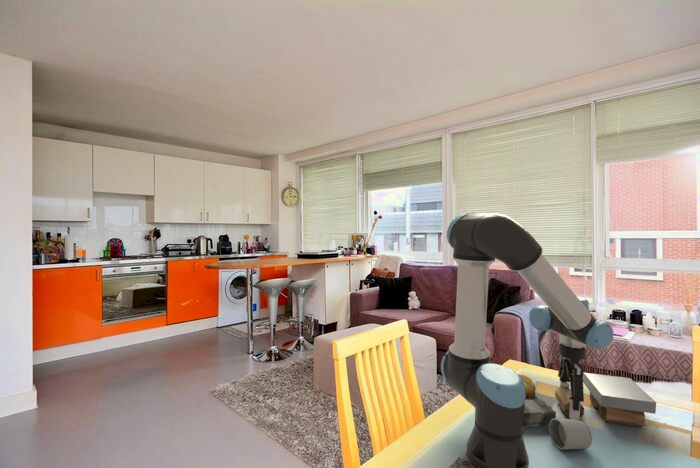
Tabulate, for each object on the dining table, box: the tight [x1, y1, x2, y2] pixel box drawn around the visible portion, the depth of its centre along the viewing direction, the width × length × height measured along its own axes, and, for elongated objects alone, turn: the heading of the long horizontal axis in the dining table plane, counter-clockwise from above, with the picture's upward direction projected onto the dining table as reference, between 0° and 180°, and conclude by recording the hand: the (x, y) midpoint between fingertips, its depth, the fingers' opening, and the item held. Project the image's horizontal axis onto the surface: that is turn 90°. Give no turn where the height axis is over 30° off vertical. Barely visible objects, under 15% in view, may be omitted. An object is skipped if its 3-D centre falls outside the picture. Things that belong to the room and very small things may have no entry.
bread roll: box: [518, 374, 536, 400], centre depth 127 cm, size 13×10×8 cm
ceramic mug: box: [548, 417, 593, 451], centre depth 101 cm, size 11×8×8 cm
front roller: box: [598, 404, 646, 427], centre depth 112 cm, size 6×10×6 cm, turn 74°
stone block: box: [523, 398, 557, 429], centre depth 113 cm, size 9×14×5 cm, turn 92°
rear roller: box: [589, 391, 599, 409], centre depth 120 cm, size 6×10×6 cm, turn 74°
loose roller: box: [554, 386, 585, 419], centre depth 118 cm, size 6×10×6 cm, turn 164°
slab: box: [583, 372, 657, 415], centre depth 116 cm, size 14×16×4 cm
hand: (568, 409), depth 118 cm, fingers closed on loose roller, 10 cm apart
